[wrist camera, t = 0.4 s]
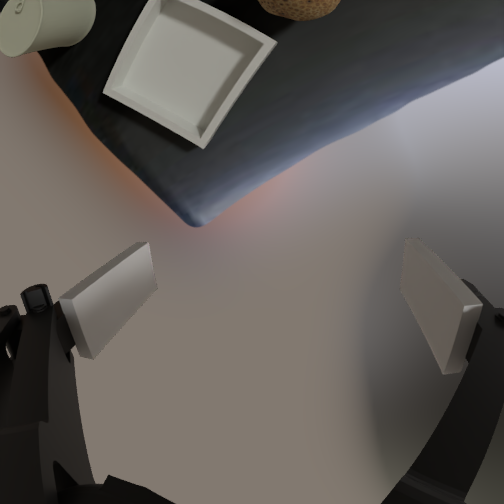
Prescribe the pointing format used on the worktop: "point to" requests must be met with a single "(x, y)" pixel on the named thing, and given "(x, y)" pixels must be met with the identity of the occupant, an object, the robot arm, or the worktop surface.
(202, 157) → the worktop surface
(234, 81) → the tray
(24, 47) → the can
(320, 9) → the natural sponge
